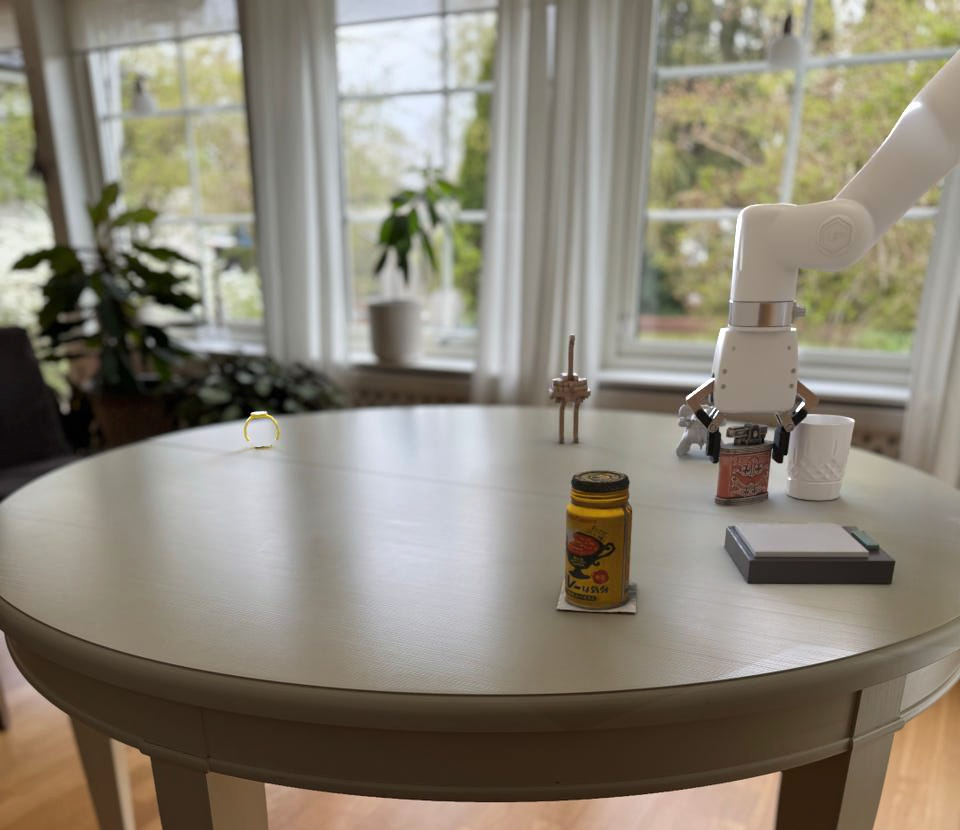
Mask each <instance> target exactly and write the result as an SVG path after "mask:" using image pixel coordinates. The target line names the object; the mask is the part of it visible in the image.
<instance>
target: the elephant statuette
mask: <svg viewBox="0 0 960 830" xmlns="http://www.w3.org/2000/svg"><path fill="white" fill-rule="evenodd" d="M700 405H701V406H702V408H703V410H704V411H705V412H706V413H707V414H708V415H709V416H710V414H711V413H712V411H713V410H714V408H715V407H714V406H712V405H711V406H710V405H708V404H700ZM727 423H728V421H727V419H726V417H725V419H724V420H723V422H722V423H721V425H720V426H719V428H722V427H726V425H727ZM677 425H678V427H681V428H684V431H683V434H682V438H681V439H680V441H679V443H678V444H677V446H676V447H675V454H676V456H677V458H679V459H681V458H684V457H685V455H686V453H689V452H690V450H691V446H692V445H693V444H696V445H698V447H699V450H701V451H702V450H703V446H704V445H706V439H707V428H706V427H705V426H704V425H703V424H702V423H701V422H700V421H699V419H698V418H697V417H696V416H695V415H694V413H693V412H692V410H691V409H690V407H689V406H688V404H682V406H680V408H679V410H678V421H677ZM722 444H725V443H724V440H723V438H721V444H720V445H722ZM719 458H720V455H719Z"/></svg>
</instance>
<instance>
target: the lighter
mask: <svg viewBox="0 0 960 830" xmlns="http://www.w3.org/2000/svg"><path fill="white" fill-rule="evenodd" d="M768 428H769V425H767V424H756V423H753V422H746V423H744V424H743V425H735V426H728V427H727V428H726V433H725V437H726V438H728V439H733V442H728V443H724V444H722V445H720V457H719V463H718V464H719V465H718V475H717V488H716V495H714V504H715V505H717V506H722V507H731V506H732V507H733V506H742V505H743V506H744V505H749V504H751V505H752V504H755V503H760V502H763V501H767V500H769V490H768V489H769V480H770V472H771V471H770V470H771V463H772V450H773V448H774V442H773V441H774V440H769V439H768V440H767V439H766V437H767V434H768V430H769V429H768Z"/></svg>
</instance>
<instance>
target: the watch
mask: <svg viewBox="0 0 960 830" xmlns="http://www.w3.org/2000/svg"><path fill="white" fill-rule="evenodd" d="M262 418H266V419H269V420H270V421H272V423H273V424H274V425H275V429H276V436H275V438H274V440H278V441H279V438H280V432H281V431H280V428H279V423H278V421H277V420H276V419H275V418H274V417H273V416H272V415H270V414H268V412H267V411H254V412H251V413H250V416H249V417H248V418H247V419H246V421H245V423H244V426H243V433H244V434H243V435H244V438H245V440H246V441H247V442H248V441H250V440H251V439H250V437H249V436H248V432H247V428H248V425H249V423H250V422H251V421H252V420H253V419H262Z"/></svg>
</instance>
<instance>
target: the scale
mask: <svg viewBox="0 0 960 830" xmlns="http://www.w3.org/2000/svg"><path fill="white" fill-rule="evenodd" d="M724 538H725V539H724V548H725V550H726V551H727V553H728V555H729V556H730V558H731V559H732V561H733V563H734V564H735V566H736V568H737V569H738V571H739V572H740V573H741V575H742V577H743V579H744V580H745V582H746V583H747V584H843V585H846V584H850V585H851V584H854V585H855V584H857V585H858V584H859V585H860V584H861V585H863V584H864V585H865V584H866V585H870V584H873V585H887V584H888V585H891V584H892V583H893V578H894V573H895V567H896V560H895V559H894V558H893V557H892V556H891V555H890V554H888V553H887V552H886V551H885V550H883V549H882V548H881V547H880V544H879V543H877V541H876V540H874V539H873V538H872V537H871V536H870V535H869V534H868V533H866V532H865V531H864V530H861V529H859V528H858V527H857V525H856V526H855V525H840V524H839V523H831V522H830V523H828V522H827V523H826V522H825V523H819V522H818V523H817V522H815V523H814V522H813V523H812V522H811V523H808V522H807V523H806V522H805V523H803V522H802V523H801V522H799V523H798V522H797V523H794V522H792V523H788V522H787V523H779V522H778V523H769V522H768V523H767V522H765V523H764V522H763V523H759V522H757V523H755V522H754V523H752V522H751V523H748V522H745V523H743V522H741V523H740V522H738V523H734V525H727V526H726V527H725V537H724Z"/></svg>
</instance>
